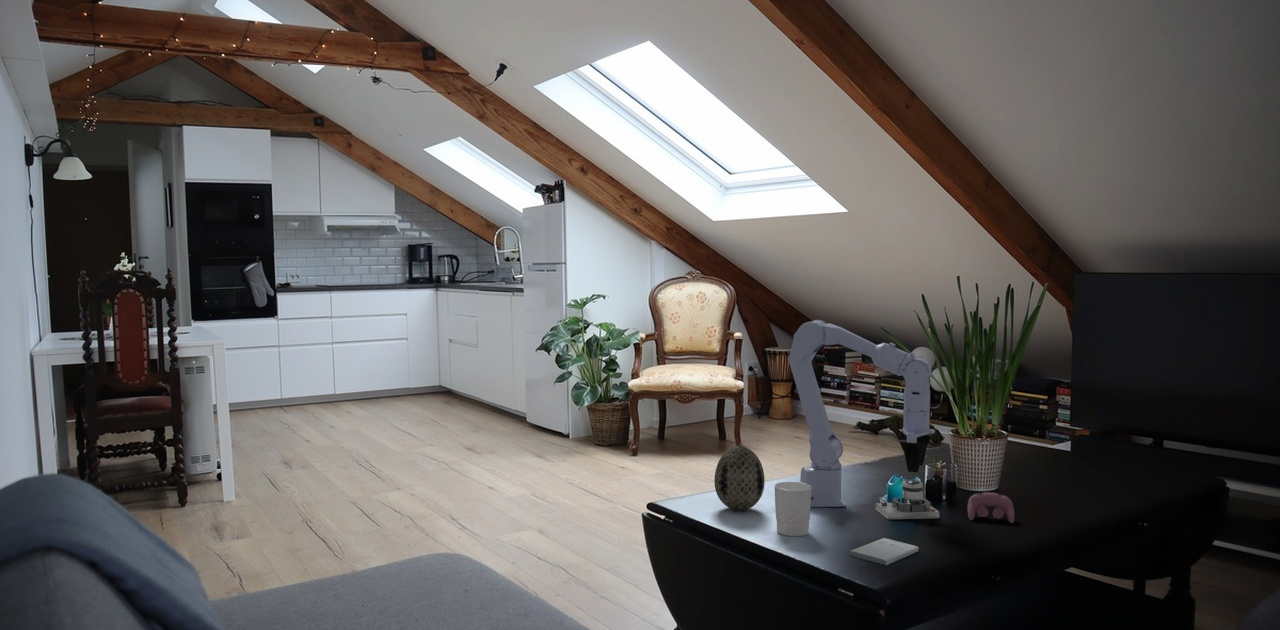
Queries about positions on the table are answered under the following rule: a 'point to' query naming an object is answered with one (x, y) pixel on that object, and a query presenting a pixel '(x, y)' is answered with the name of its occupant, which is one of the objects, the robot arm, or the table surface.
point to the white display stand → (906, 510)
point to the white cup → (793, 508)
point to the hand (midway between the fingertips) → (915, 468)
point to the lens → (912, 492)
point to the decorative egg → (739, 478)
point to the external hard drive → (884, 551)
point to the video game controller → (990, 499)
